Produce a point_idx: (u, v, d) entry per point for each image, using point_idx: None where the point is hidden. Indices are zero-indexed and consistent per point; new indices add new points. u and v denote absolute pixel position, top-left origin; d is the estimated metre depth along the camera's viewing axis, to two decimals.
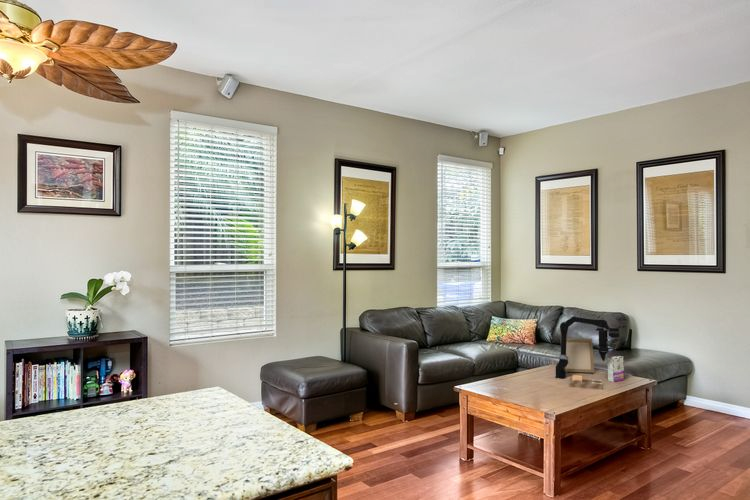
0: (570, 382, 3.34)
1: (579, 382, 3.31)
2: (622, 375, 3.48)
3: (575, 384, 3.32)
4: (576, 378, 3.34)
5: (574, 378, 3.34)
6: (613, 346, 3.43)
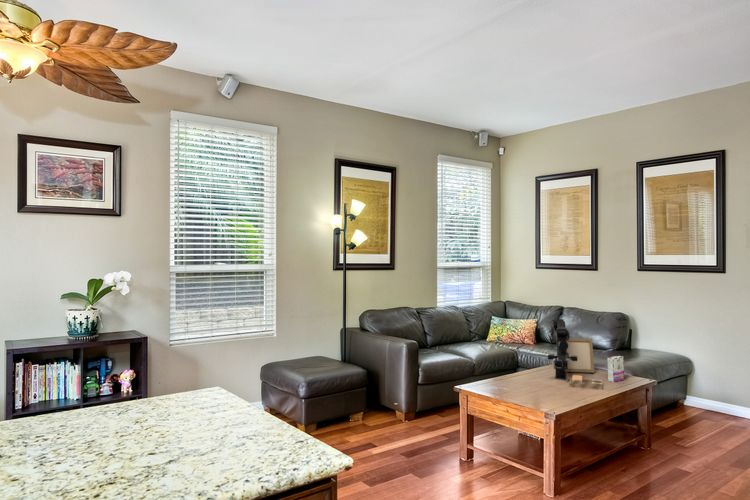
0: (570, 382, 3.34)
1: (579, 382, 3.31)
2: (622, 375, 3.48)
3: (575, 384, 3.32)
4: (576, 378, 3.34)
5: (574, 378, 3.34)
6: (558, 357, 3.35)
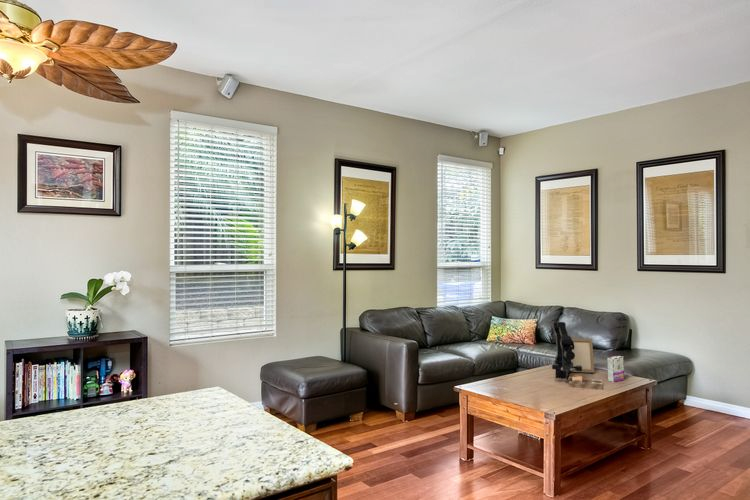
0: (570, 382, 3.34)
1: (579, 382, 3.31)
2: (622, 375, 3.48)
3: (575, 384, 3.32)
4: (576, 378, 3.34)
5: (574, 378, 3.34)
6: None
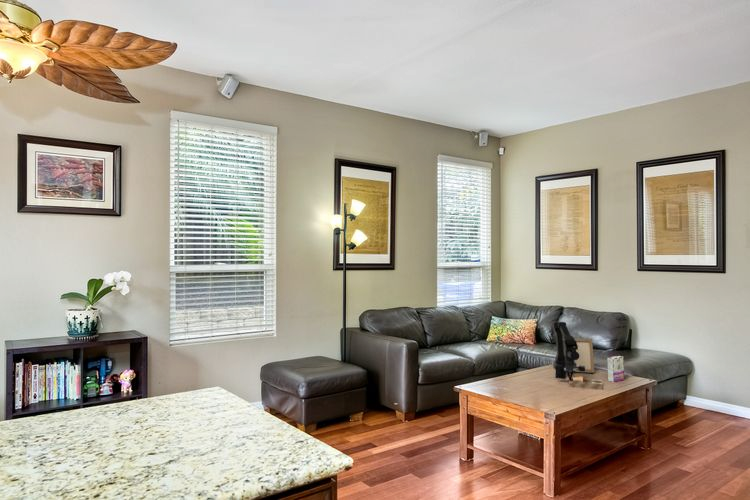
0: (570, 382, 3.34)
1: (579, 382, 3.31)
2: (622, 375, 3.48)
3: (575, 384, 3.32)
4: (577, 378, 3.34)
5: (575, 378, 3.34)
6: (565, 367, 3.33)
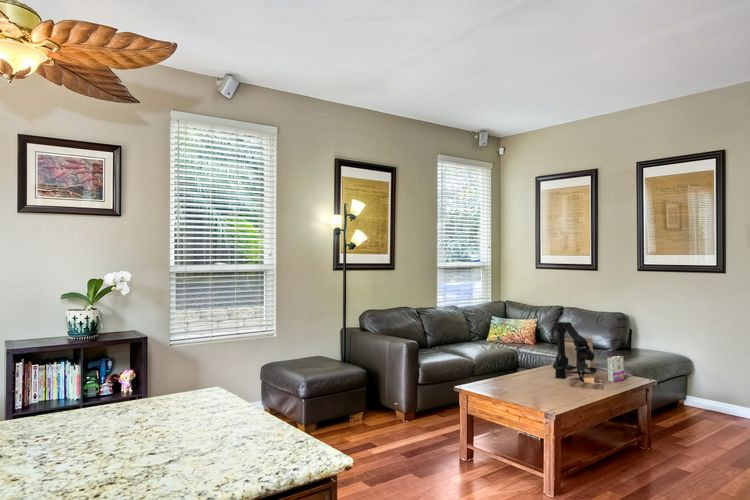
0: (570, 382, 3.34)
1: (579, 382, 3.31)
2: (622, 375, 3.48)
3: (575, 384, 3.32)
4: (588, 379, 3.31)
5: (586, 379, 3.31)
6: (576, 368, 3.31)
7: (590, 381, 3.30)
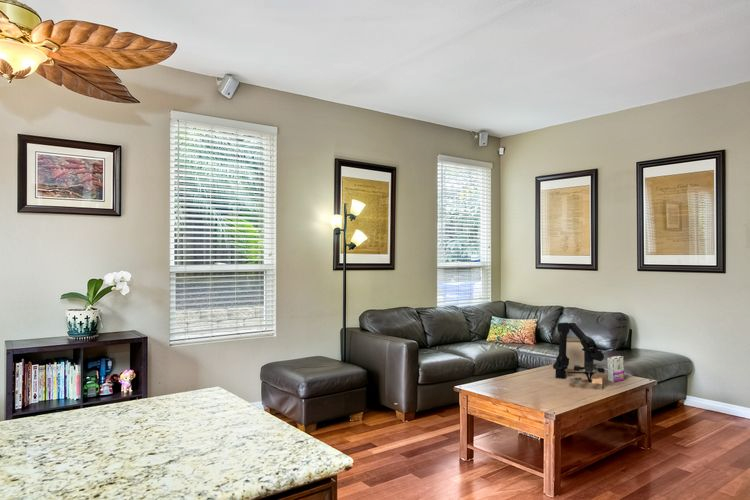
0: (570, 382, 3.34)
1: (579, 382, 3.31)
2: (622, 375, 3.48)
3: (575, 384, 3.32)
4: (596, 380, 3.29)
5: (594, 380, 3.29)
6: (584, 368, 3.29)
7: (598, 382, 3.28)
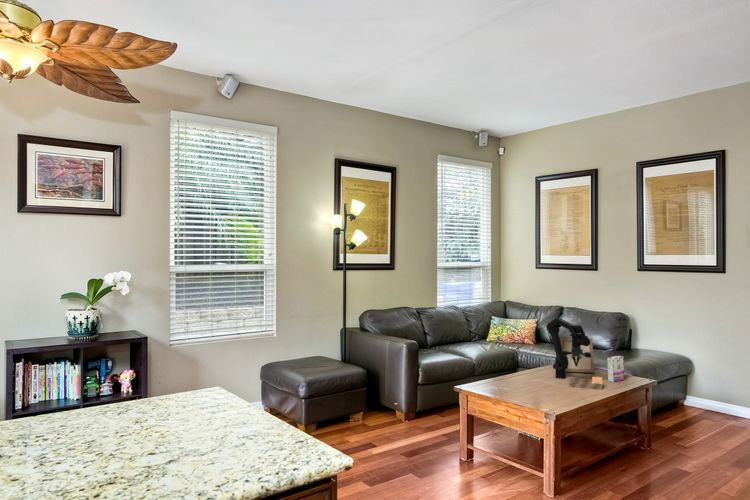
0: (570, 382, 3.34)
1: (579, 382, 3.31)
2: (622, 375, 3.48)
3: (575, 384, 3.32)
4: (596, 380, 3.29)
5: (594, 380, 3.29)
6: (571, 353, 3.39)
7: (598, 382, 3.28)
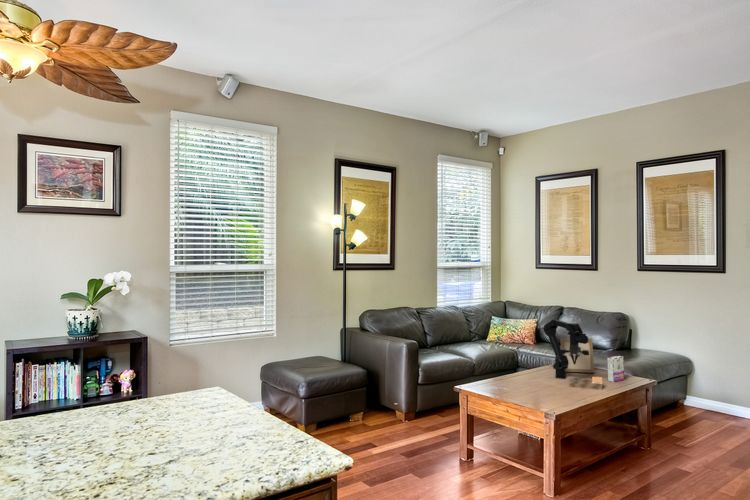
0: (570, 382, 3.34)
1: (579, 382, 3.31)
2: (622, 375, 3.48)
3: (575, 384, 3.32)
4: (596, 380, 3.29)
5: (594, 380, 3.29)
6: (570, 351, 3.42)
7: (598, 382, 3.28)
